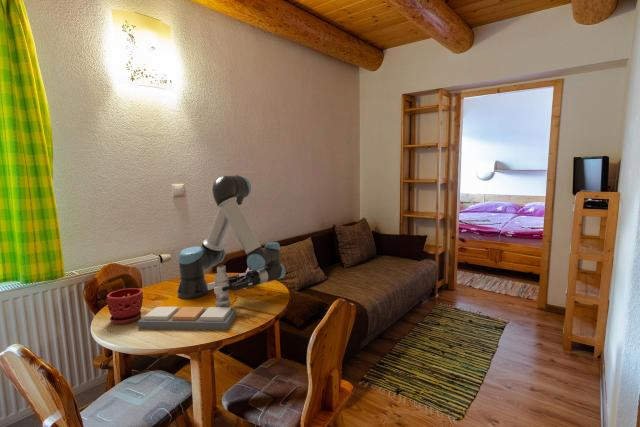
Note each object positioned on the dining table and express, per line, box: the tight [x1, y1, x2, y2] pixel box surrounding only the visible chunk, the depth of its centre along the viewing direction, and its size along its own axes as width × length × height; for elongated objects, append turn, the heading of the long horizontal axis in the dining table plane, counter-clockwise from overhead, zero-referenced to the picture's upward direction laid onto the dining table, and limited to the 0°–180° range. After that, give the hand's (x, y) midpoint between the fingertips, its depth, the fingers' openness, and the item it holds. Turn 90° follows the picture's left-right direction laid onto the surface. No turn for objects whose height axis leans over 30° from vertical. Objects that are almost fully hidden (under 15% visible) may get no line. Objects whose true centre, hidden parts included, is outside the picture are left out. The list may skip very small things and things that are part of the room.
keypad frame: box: [137, 308, 237, 331], centre depth 138 cm, size 13×36×3 cm, turn 88°
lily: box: [238, 267, 252, 290], centre depth 182 cm, size 12×12×10 cm
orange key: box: [172, 306, 205, 321], centre depth 138 cm, size 9×9×2 cm
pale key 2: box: [200, 306, 232, 321], centre depth 138 cm, size 9×9×2 cm
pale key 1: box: [143, 306, 179, 320], centre depth 139 cm, size 9×9×2 cm
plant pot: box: [106, 287, 144, 325], centre depth 141 cm, size 13×13×12 cm
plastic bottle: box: [213, 265, 231, 307], centre depth 150 cm, size 6×7×20 cm
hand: (211, 288), depth 146 cm, fingers closed on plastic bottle, 6 cm apart
